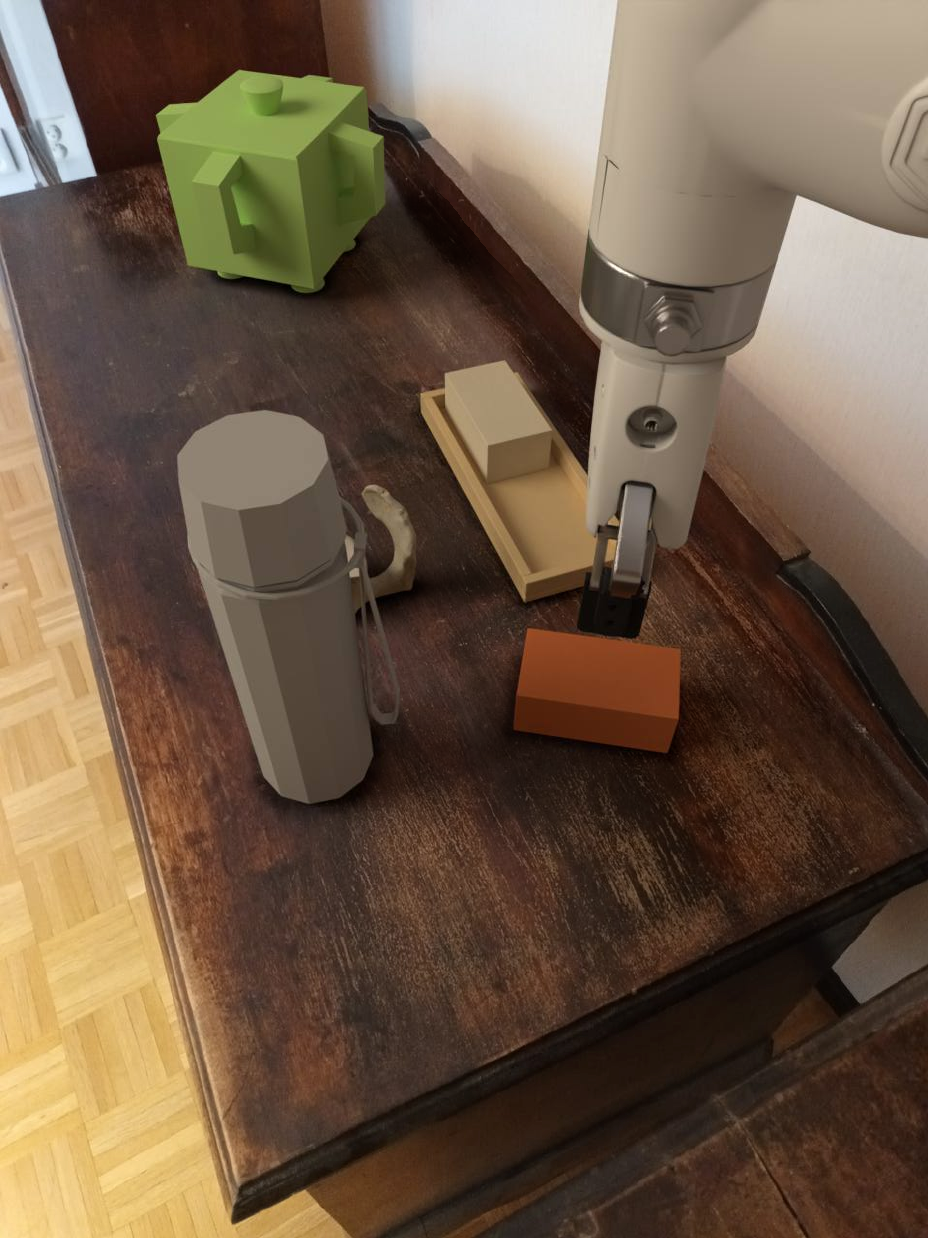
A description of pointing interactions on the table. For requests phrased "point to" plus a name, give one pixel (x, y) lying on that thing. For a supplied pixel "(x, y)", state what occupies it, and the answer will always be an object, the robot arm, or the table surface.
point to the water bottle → (285, 597)
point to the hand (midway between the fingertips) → (614, 563)
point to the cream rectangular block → (497, 421)
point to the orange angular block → (598, 690)
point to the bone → (404, 542)
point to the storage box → (272, 176)
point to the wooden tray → (527, 509)
